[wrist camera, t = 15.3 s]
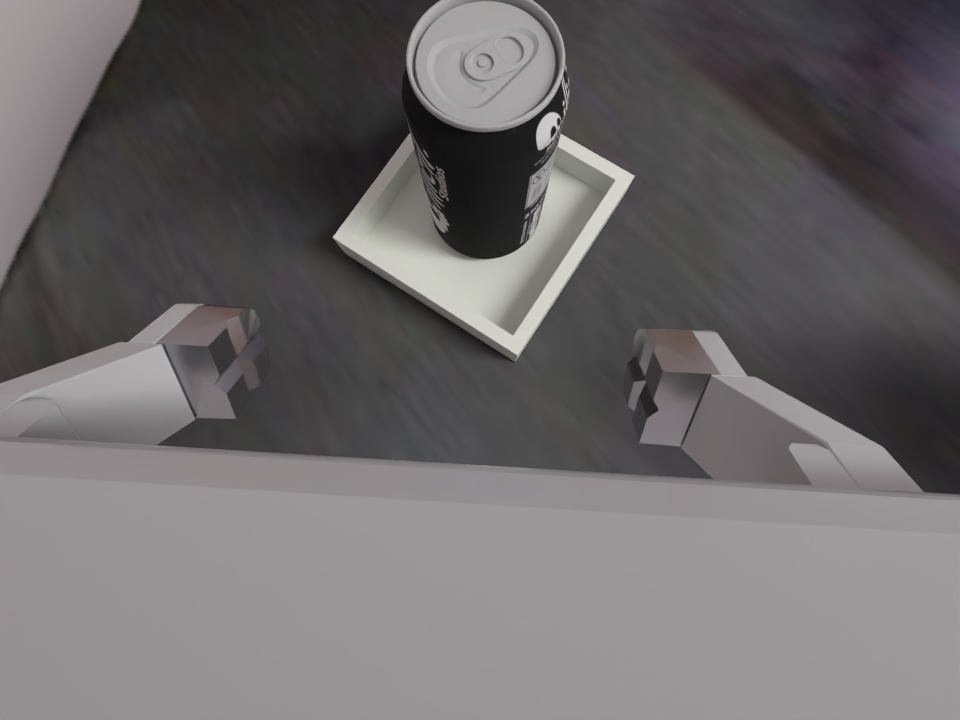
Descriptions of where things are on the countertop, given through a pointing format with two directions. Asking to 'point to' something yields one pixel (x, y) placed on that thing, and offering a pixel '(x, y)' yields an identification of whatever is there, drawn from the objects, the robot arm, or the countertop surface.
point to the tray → (484, 282)
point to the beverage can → (485, 118)
